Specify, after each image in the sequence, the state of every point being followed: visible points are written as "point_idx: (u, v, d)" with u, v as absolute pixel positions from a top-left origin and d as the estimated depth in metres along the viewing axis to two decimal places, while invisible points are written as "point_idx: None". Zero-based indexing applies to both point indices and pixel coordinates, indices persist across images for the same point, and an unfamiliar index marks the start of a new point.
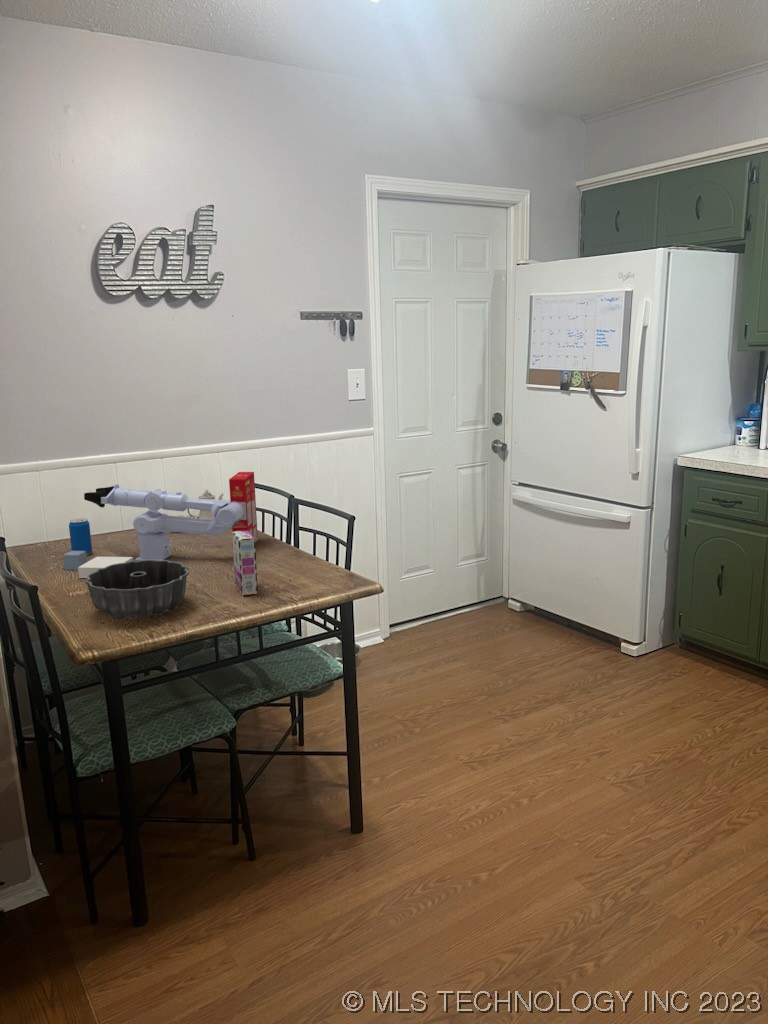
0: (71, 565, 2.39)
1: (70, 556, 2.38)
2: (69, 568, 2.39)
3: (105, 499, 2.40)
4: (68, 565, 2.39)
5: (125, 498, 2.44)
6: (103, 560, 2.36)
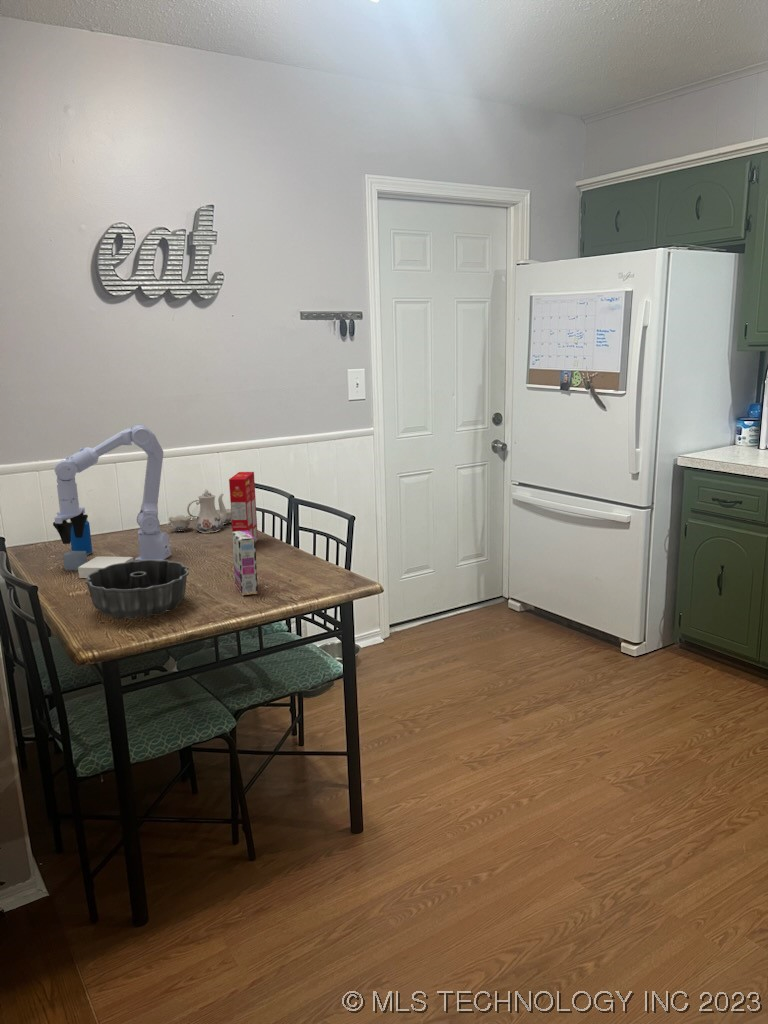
0: (71, 565, 2.39)
1: (70, 556, 2.38)
2: (69, 568, 2.39)
3: (56, 518, 2.30)
4: (68, 565, 2.39)
5: (62, 501, 2.34)
6: (103, 560, 2.36)
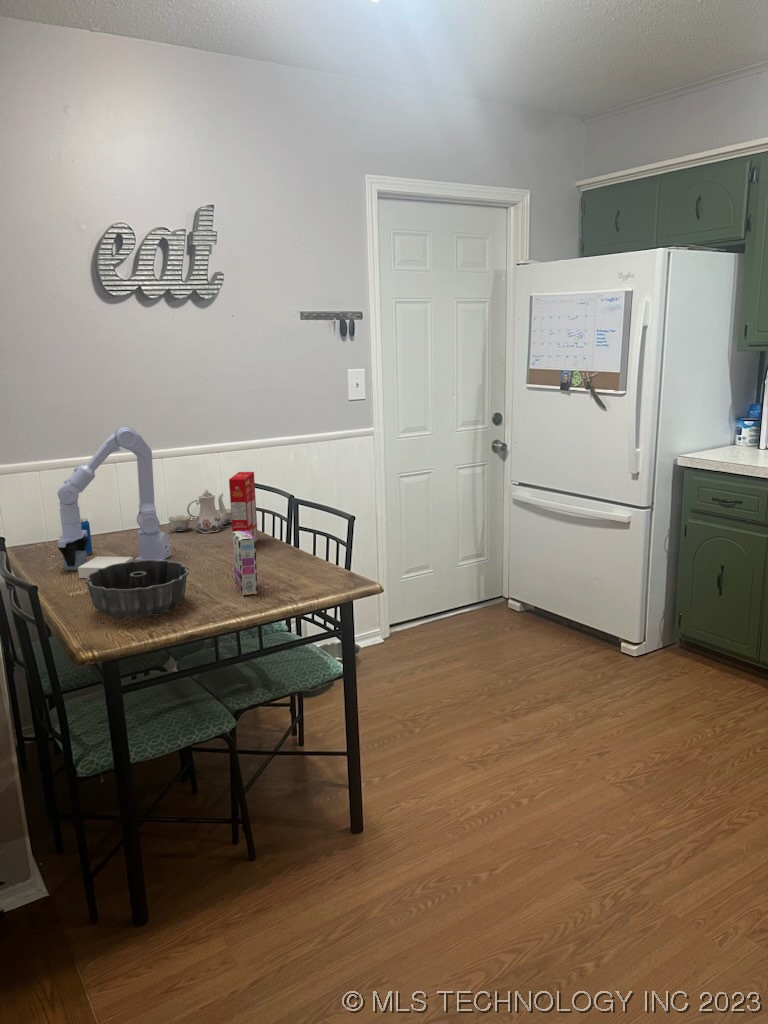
0: None
1: None
2: (69, 568, 2.39)
3: (59, 542, 2.32)
4: None
5: (65, 524, 2.35)
6: (103, 560, 2.36)
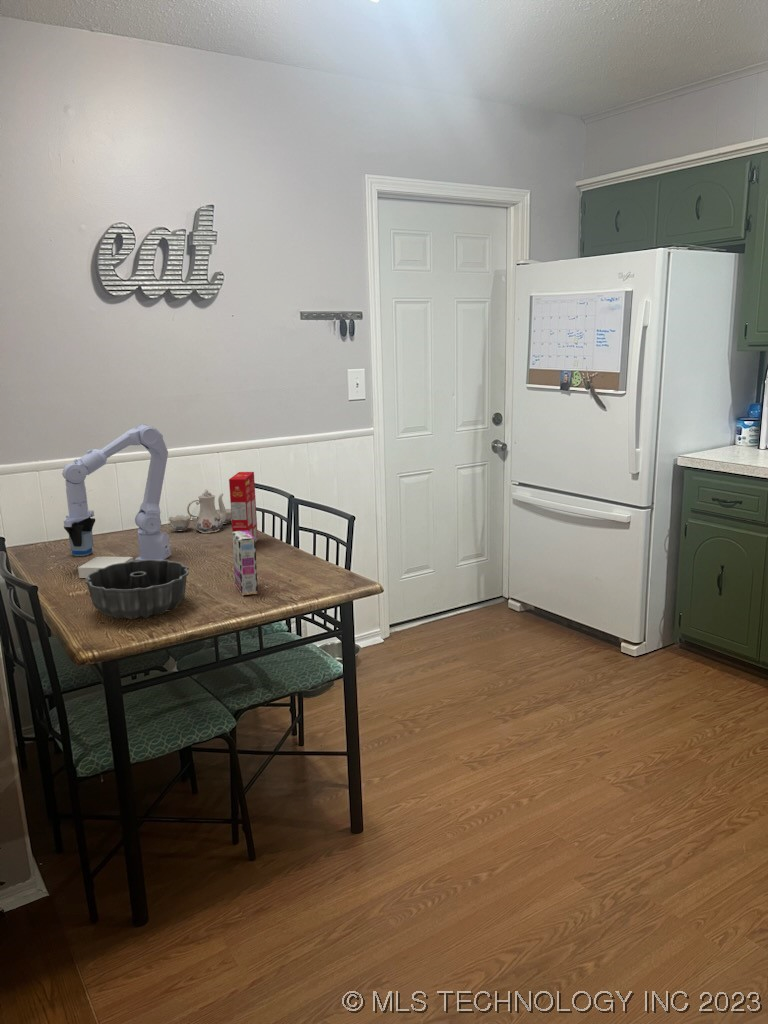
0: None
1: None
2: (75, 548, 2.36)
3: (65, 522, 2.29)
4: None
5: (71, 504, 2.32)
6: (103, 560, 2.36)
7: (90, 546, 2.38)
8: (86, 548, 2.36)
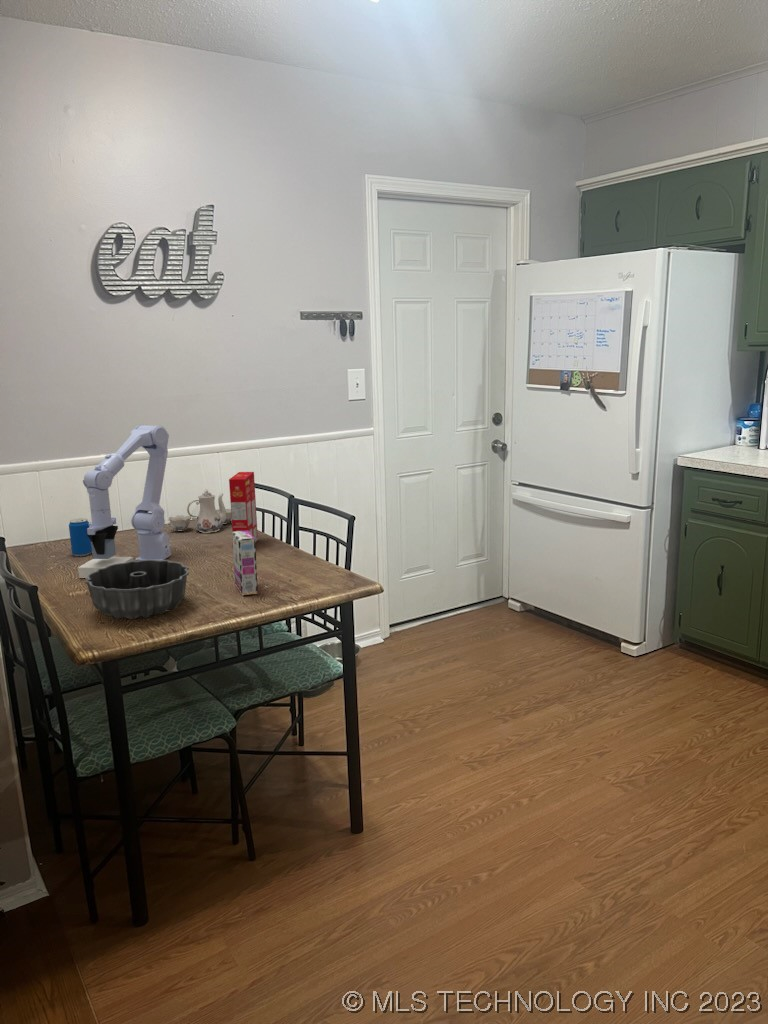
0: None
1: None
2: (97, 557, 2.31)
3: (88, 529, 2.24)
4: (96, 554, 2.31)
5: (95, 511, 2.28)
6: (103, 560, 2.36)
7: (112, 554, 2.34)
8: (109, 556, 2.31)
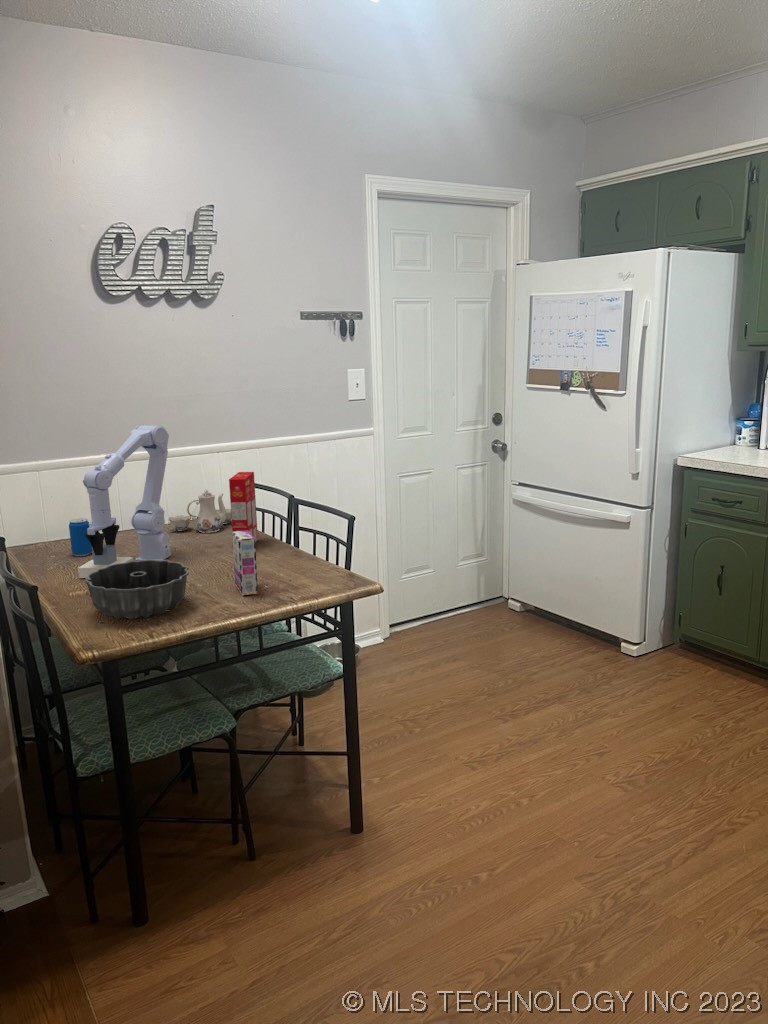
0: (100, 560, 2.31)
1: None
2: (98, 562, 2.32)
3: (88, 529, 2.24)
4: (97, 559, 2.31)
5: (95, 511, 2.28)
6: None
7: (113, 560, 2.34)
8: (109, 562, 2.32)
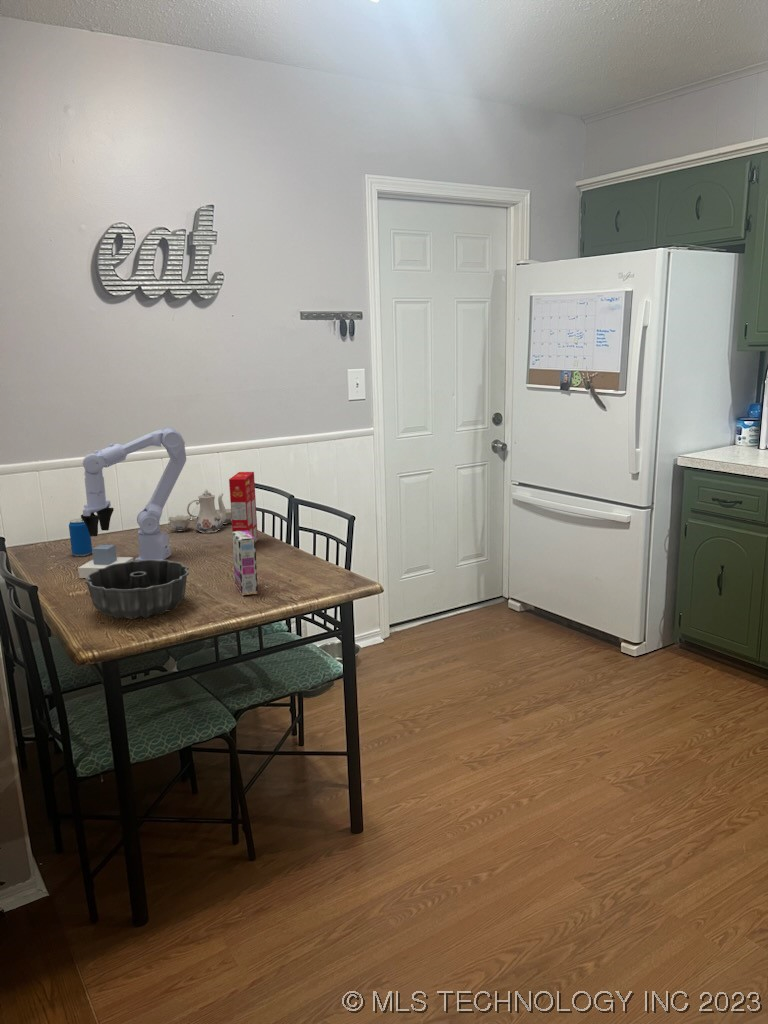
0: (100, 560, 2.31)
1: (99, 550, 2.31)
2: (98, 562, 2.32)
3: (84, 511, 2.33)
4: (97, 559, 2.32)
5: (90, 494, 2.37)
6: None
7: (113, 560, 2.34)
8: (109, 562, 2.32)
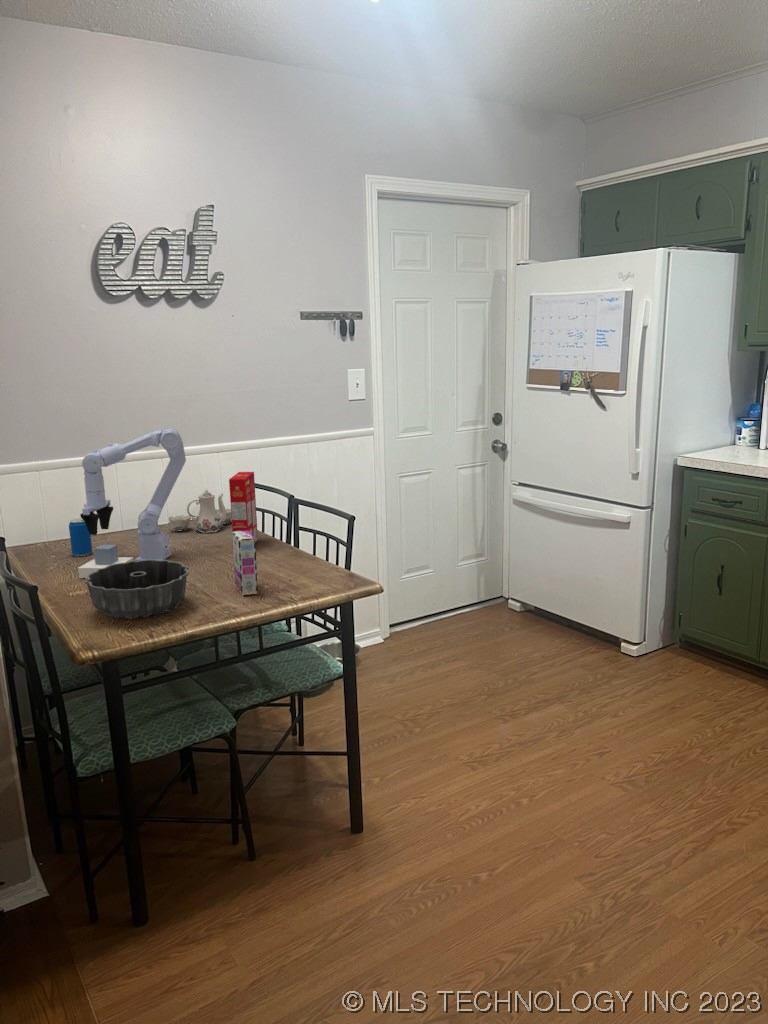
0: (101, 559, 2.31)
1: (101, 550, 2.31)
2: (100, 562, 2.32)
3: (83, 510, 2.35)
4: (98, 559, 2.32)
5: (89, 493, 2.38)
6: None
7: (115, 560, 2.34)
8: (111, 562, 2.32)
